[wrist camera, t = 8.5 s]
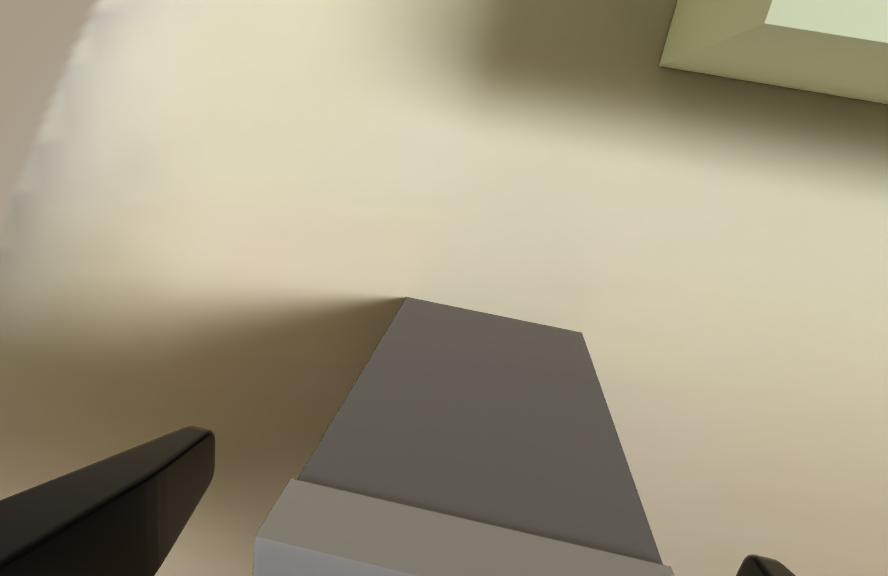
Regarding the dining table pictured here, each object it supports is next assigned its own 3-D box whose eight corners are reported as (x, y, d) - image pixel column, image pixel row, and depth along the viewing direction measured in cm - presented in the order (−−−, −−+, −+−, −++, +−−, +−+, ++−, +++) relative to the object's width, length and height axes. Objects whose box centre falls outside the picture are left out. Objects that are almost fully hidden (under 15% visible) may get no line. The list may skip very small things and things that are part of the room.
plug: (541, 479, 12) (580, 889, 6) (382, 443, 13) (242, 796, 6) (584, 331, 11) (698, 642, 4) (404, 294, 11) (254, 535, 5)
